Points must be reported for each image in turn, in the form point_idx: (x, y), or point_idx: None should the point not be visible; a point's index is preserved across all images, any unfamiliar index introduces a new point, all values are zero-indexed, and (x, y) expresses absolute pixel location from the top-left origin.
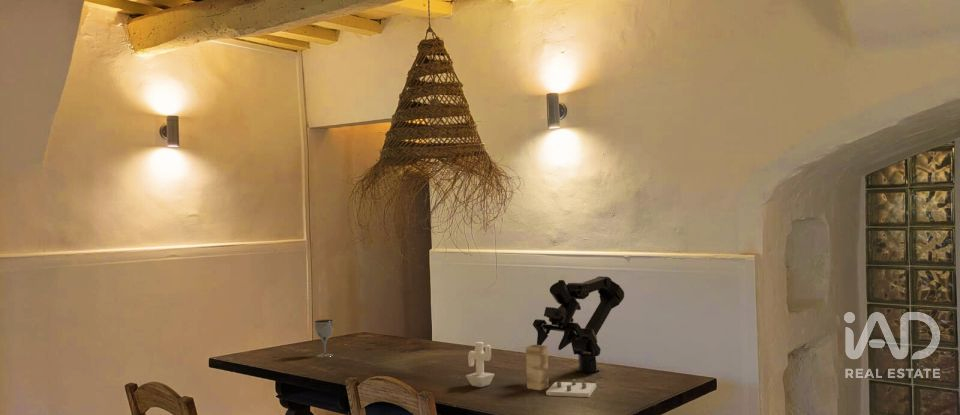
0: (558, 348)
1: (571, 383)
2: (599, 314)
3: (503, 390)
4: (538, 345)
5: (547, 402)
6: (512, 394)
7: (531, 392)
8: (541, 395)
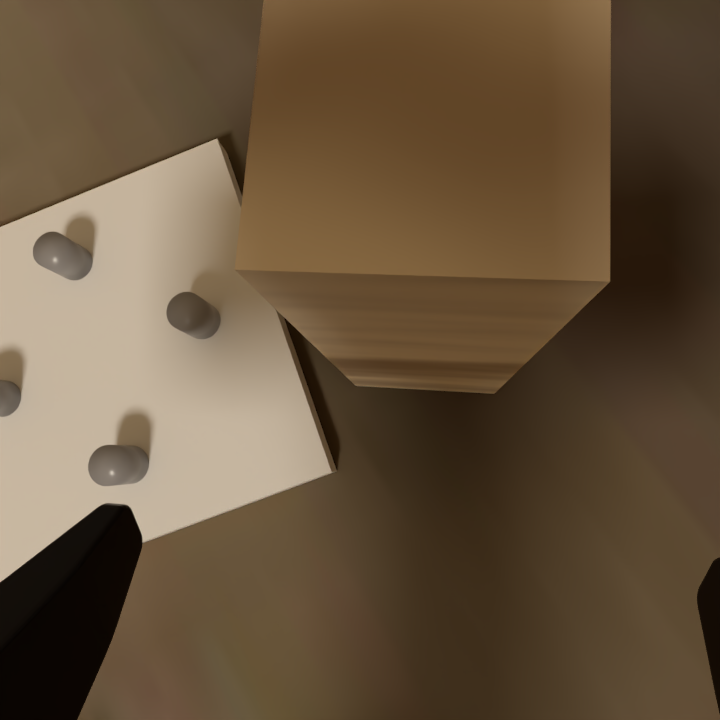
0: (115, 504)
1: (168, 488)
2: None
3: (626, 96)
4: (458, 223)
5: (123, 11)
6: None
7: None
8: None
